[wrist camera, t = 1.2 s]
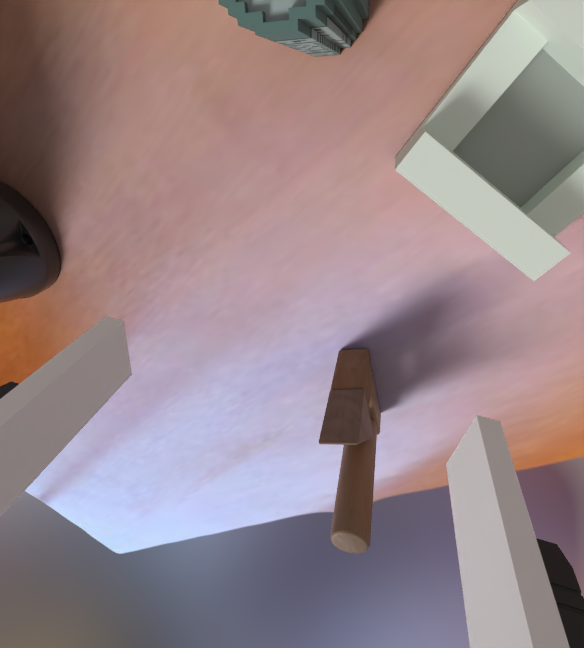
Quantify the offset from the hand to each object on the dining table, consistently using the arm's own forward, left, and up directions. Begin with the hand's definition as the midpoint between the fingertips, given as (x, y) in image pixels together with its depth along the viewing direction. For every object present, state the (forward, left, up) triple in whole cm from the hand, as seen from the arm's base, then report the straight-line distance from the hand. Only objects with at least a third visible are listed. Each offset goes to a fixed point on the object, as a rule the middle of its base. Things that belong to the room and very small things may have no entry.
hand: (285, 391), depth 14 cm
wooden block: (+14, -16, -26) cm, 34 cm away
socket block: (+7, +13, -26) cm, 30 cm away
